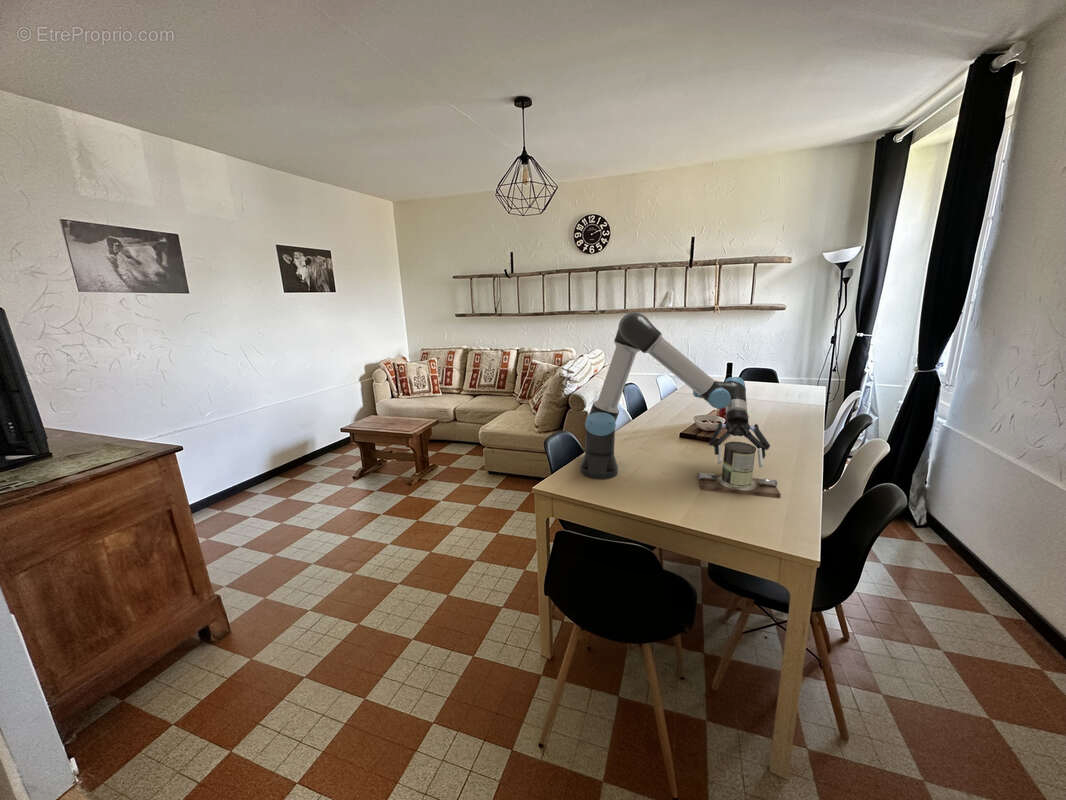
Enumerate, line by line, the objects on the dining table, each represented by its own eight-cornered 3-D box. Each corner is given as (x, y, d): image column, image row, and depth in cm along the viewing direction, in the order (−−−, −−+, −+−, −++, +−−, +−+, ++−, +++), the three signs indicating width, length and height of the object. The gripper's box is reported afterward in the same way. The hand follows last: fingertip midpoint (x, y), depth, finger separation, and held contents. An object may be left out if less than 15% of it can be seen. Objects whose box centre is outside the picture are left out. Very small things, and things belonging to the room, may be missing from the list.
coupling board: (700, 489, 150) (701, 485, 149) (697, 475, 162) (697, 471, 161) (780, 498, 143) (781, 493, 142) (770, 482, 155) (771, 478, 155)
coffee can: (715, 481, 153) (719, 445, 149) (728, 474, 159) (732, 439, 156) (744, 490, 145) (748, 453, 142) (756, 482, 151) (761, 446, 148)
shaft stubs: (699, 480, 154) (700, 474, 154) (698, 477, 157) (699, 471, 156) (776, 487, 147) (777, 481, 147) (774, 485, 150) (775, 479, 149)
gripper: (769, 420, 158) (775, 471, 148) (700, 416, 165) (701, 465, 154) (775, 410, 152) (782, 463, 141) (703, 406, 159) (704, 456, 148)
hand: (740, 464), depth 148 cm, fingers open, 13 cm apart
